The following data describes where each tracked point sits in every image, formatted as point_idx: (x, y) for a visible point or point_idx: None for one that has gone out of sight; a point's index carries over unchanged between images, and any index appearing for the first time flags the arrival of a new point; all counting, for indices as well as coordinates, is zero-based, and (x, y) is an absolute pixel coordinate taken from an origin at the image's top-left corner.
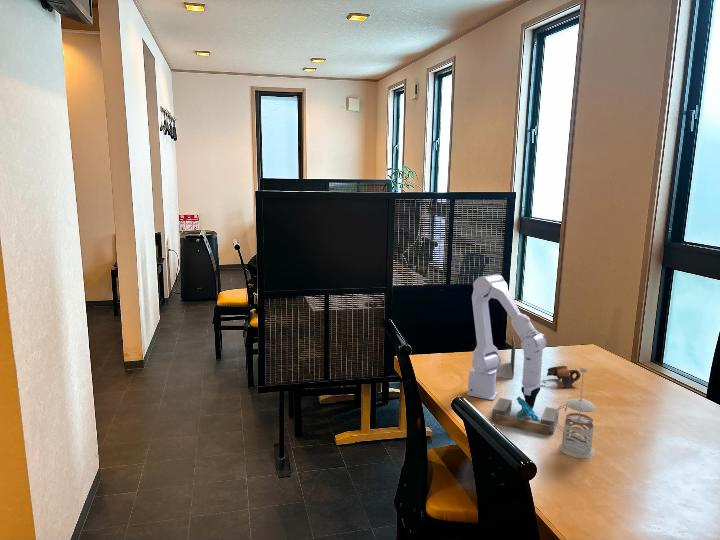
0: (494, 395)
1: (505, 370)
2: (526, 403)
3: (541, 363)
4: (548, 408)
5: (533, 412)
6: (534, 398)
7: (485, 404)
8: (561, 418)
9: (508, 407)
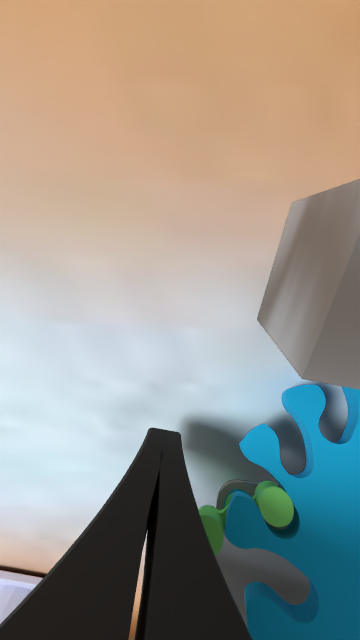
0: (22, 586)
1: None
2: (220, 542)
3: None
4: (354, 347)
5: (323, 453)
6: (223, 581)
7: None
8: (213, 161)
9: None
